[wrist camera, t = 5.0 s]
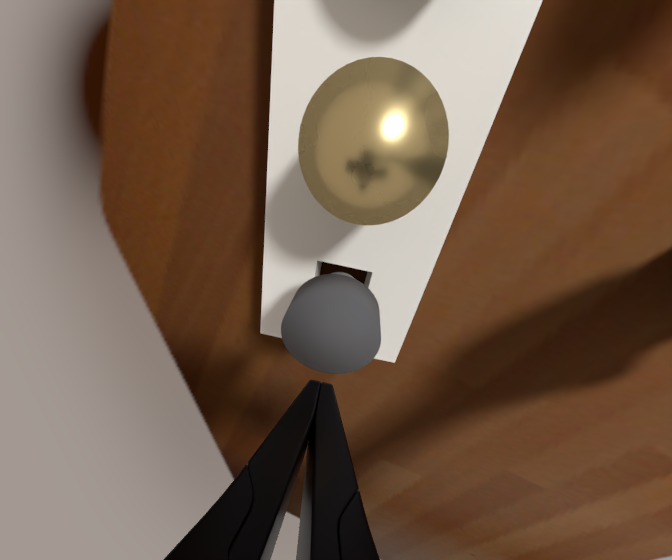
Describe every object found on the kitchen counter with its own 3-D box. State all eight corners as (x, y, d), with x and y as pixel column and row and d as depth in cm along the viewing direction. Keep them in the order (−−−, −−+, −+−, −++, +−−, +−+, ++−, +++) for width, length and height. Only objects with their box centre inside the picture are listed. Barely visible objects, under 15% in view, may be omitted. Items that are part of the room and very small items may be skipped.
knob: (367, 325, 17) (367, 382, 13) (299, 310, 17) (277, 362, 13) (386, 263, 15) (393, 307, 11) (308, 246, 15) (284, 284, 11)
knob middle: (403, 209, 13) (418, 237, 9) (315, 190, 14) (291, 210, 9) (436, 100, 11) (476, 74, 7) (329, 79, 11) (307, 41, 7)
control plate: (391, 335, 21) (394, 362, 18) (273, 309, 21) (260, 333, 18) (609, -251, 8) (718, -431, 6) (317, -302, 9) (295, -499, 6)
